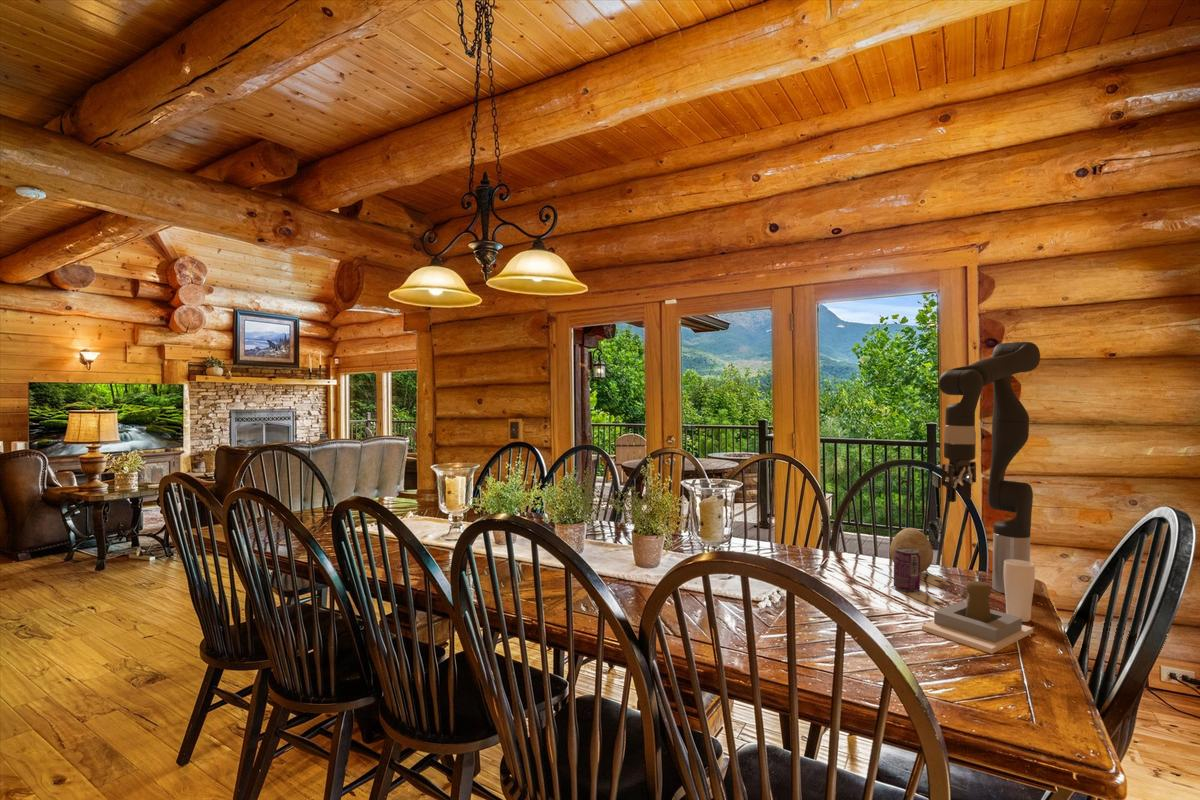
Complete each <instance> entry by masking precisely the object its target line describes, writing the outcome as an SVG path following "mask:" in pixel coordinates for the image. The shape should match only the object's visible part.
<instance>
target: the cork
mask: <svg viewBox="0 0 1200 800" xmlns="http://www.w3.org/2000/svg"><path fill="white" fill-rule="evenodd" d="M966 592H967V593H968V598H967V599H968V600H967V609H966V615H965V617H968V618H971V619H974V620H978V621H981V622H984V623H990V622H992V621H991V614H990V609H991V607H990V602H989V600H990V599H989V597H990V596H991V593H992V588H991V586H990V585H989V584H988V583H986V582H984V581H980V580H972V581H971V580H970V581H968V582H967V584H966Z"/></svg>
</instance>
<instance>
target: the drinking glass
mask: <svg viewBox="0 0 1200 800" xmlns="http://www.w3.org/2000/svg"><path fill="white" fill-rule="evenodd" d="M1035 569H1036V568H1035V563H1032V562H1031V561H1030V562H1027V561H1022V560H1014V559H1008V560H1004V571H1003V574H1004V588H1005V594H1004V597H1005V613H1006V614H1009V615H1013V616H1016V617H1020V618H1022V623H1027V622H1030V621H1031V619H1032V618H1031V617H1032V614H1031V613H1032V606H1033V605H1032V604H1033V599H1034V598H1033V597H1034V589H1035V581H1036V580H1035V579H1036V570H1035Z"/></svg>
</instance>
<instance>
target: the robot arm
mask: <svg viewBox="0 0 1200 800" xmlns="http://www.w3.org/2000/svg"><path fill="white" fill-rule="evenodd" d="M1040 362H1041V352H1040V349H1039V347H1038V346H1037V344H1035V343H1034V342H1031V341H1018V342H1017V341H1016V342H1002V343H997V344H996V345H995V346H994V348H993V350H992V356H991V357H988V358H983V359H981V360H978V361H976V362H973V363H971V364H968V365H965V366H959V367H954V368H950V369H947V370H945V371H944V372H943V373H941V375H940V376H939V378H938V384H937V385H938V388H939V390H940V391H941V392H942V393H943V394H945V395H948V396H962V398H961V399H960V401H959V402H957V403H952V404H948V405H947V406H946V407H945V415H944V416H945V419H944V421H945V422H944V424H945V426H944V433H943V457H944V458H945V459H948V460H949V461H948V463H942V465H941V482H940V483H941V484H940V485H941V486H942V487H943V486H944V487H945V489H946V490H945V491H946V492H945V493H946V494H945V500H946V501H947V502H949V503H955V502H956V501H957V485H958V483H961V498H962V499H967V500H970V499H972V486H973V484H975V483H977V462H976V461H973V460H976V448H977V446H976V444H977V441H976V439H977V436H976V435H977V433H976V426H975V425H976V409H977V406H978V402H979V399H980V398H981V397H980V396H981V393H982V390H983V388H984V387H985V386H987V385H990V384H992V383H993V402H992V405H993V407H992V418H991V419H992V420H991V421H992V422H991V423H992V424H991V458H990V459H991V460H990V462H991V463H990V467H989V477H988V485H987V503H988V505H989V507H990V508H991V509H992V510H996V511H1001V512H1002V511H1003V512H1010V513H1015V516H1014V518H1011V519H1008V520H1003V521H996V522H994V524H993V529H992V532H993V533H992V576H991V577H992V579H991V581H992V585H991V586H992V588H991V589H992V590H994V591H996V592H999V593H1001V594H1004V595H1005V588H1004V574H1003V571H1004V560H1008V559H1014V560H1022V561H1027V562H1030V563H1031V528H1032V515H1033V514H1032V513H1033V512H1032V511H1033V501H1034V492H1033V488H1032V486H1031V484H1030V483H1027V482H1023V481H1013V480H1005V474H1006V471H1007V469H1008V466H1009V465H1010V463H1011V461H1012V460H1013V459H1014V458H1015V456H1017V454H1018V453H1019V452H1020V451H1021V449H1022V448H1023V447H1024V446H1025V445H1026V443H1027V442H1028V440H1029V437H1030V436H1029V435H1030V434H1029V432H1030V416H1029V413H1028V411H1027V410H1026V408H1025V406H1024V405H1023V403H1022V402H1021V401H1020V399H1019V397H1017V394H1016V393H1015V391H1014V390H1013V386H1012V380H1011V376H1012V375H1015V374H1021V373H1029V372H1032V371H1034V370H1036V368H1038V366H1039V364H1040Z"/></svg>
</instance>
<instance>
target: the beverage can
mask: <svg viewBox="0 0 1200 800" xmlns="http://www.w3.org/2000/svg"><path fill="white" fill-rule="evenodd" d="M918 553H919V551H918V550H915V549H912V548H904V547H900V548H896V552H895V554H894V562H893V587H895V588H897V589H898V590H899V591H902V592H906V593H907V592H908V593H914V592H915V593H916V591H919V590H920V589H921V573H920V556H919V554H918Z"/></svg>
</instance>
